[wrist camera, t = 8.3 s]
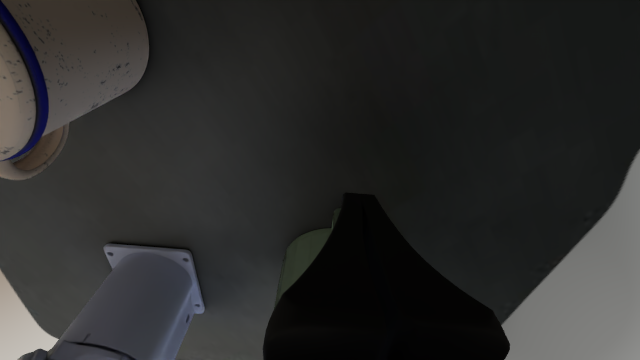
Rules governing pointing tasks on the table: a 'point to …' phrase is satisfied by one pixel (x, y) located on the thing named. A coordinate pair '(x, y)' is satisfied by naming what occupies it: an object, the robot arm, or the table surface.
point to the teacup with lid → (61, 71)
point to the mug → (302, 255)
